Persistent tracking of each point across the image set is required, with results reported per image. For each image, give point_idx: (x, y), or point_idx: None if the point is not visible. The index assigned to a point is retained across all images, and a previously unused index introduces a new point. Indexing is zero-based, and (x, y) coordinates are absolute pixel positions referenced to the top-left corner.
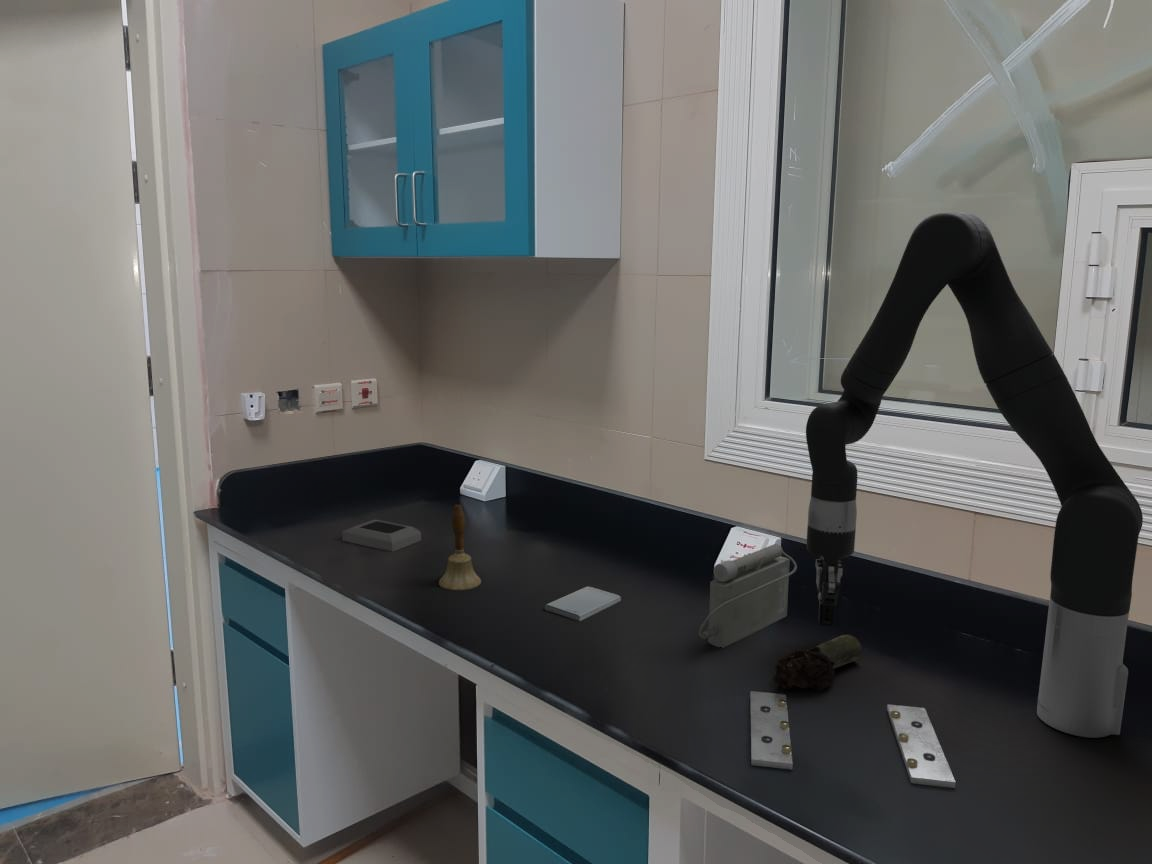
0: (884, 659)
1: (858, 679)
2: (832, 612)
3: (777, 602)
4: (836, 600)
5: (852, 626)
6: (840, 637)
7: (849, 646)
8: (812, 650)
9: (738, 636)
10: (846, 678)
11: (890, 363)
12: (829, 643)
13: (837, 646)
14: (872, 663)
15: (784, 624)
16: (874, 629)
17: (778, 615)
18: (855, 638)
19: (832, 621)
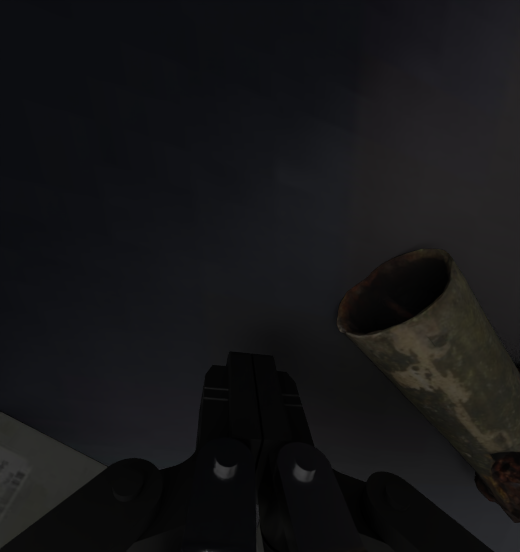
0: (391, 125)
1: (515, 278)
2: (283, 406)
3: (13, 517)
4: (474, 543)
5: (30, 158)
6: (433, 358)
7: (488, 328)
8: (492, 455)
9: None
10: (499, 312)
11: None
12: (488, 412)
13: (505, 384)
14: (418, 192)
15: (81, 421)
16: (41, 40)
17: (37, 453)
18: (449, 295)
19: (274, 367)
